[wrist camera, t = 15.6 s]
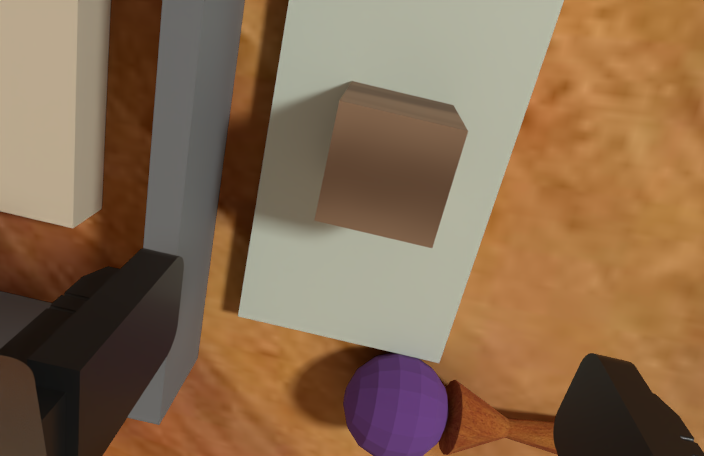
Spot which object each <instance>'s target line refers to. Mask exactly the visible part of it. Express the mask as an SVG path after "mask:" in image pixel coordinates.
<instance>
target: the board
mask: <svg viewBox="0 0 704 456" xmlns="http://www.w3.org/2000/svg"><path fill="white" fill-rule="evenodd" d="M563 2H564V0H289V3H288V9H287V15H286V21H285V28H284V34H283V40H282V46H281V52H280V59H279V65H278V71H277V77H276V83H275V90H274V96H273V102H272V108H271V114H270V121H269V127H268V133H267V139H266V145H265V152H264V158H263V164H262V170H261V176H260V183H259V189H258V195H257V201H256V207H255V213H254V220H253V226H252V232H251V238H250V244H249V251H248V257H247V263H246V269H245V275H244V282H243V288H242V294H241V300H240V306H239V313H238V316H239V317H243V318H248V319H252V320H256V321H260V322H265V323H269V324H273V325H278V326H282V327H286V328H290V329H295V330H299V331H303V332H308V333H312V334H316V335H320V336H325V337H329V338H333V339H338V340H342V341H346V342H350V343H355V344H359V345H363V346H368V347H372V348H376V349H380V350H385V351H389V352H393V353H398V354H402V355H406V356H410V357H415V358H419V359H423V360H428V361H432V362H436V363H439V362H440V359H441V356H442V354H443V351H444V348H445V345H446V342H447V339H448V336H449V333H450V330H451V327H452V324H453V322H454V319H455V316H456V313H457V310H458V307H459V304H460V301H461V298H462V295H463V292H464V290H465V287H466V284H467V281H468V278H469V275H470V272H471V269H472V266H473V263H474V260H475V258H476V255H477V252H478V249H479V246H480V243H481V240H482V237H483V234H484V231H485V228H486V226H487V223H488V220H489V217H490V214H491V211H492V208H493V205H494V202H495V199H496V196H497V194H498V191H499V188H500V185H501V182H502V179H503V176H504V173H505V170H506V167H507V165H508V162H509V159H510V156H511V153H512V150H513V147H514V144H515V141H516V138H517V135H518V133H519V130H520V127H521V124H522V121H523V118H524V115H525V112H526V109H527V106H528V103H529V101H530V98H531V95H532V92H533V89H534V86H535V83H536V80H537V77H538V74H539V71H540V69H541V66H542V63H543V60H544V57H545V54H546V51H547V48H548V45H549V42H550V39H551V37H552V34H553V31H554V28H555V25H556V22H557V19H558V16H559V13H560V10H561V7H562V5H563ZM352 81H354V82H359V83H363V84H367V85H371V86H375V87H380V88H384V89H388V90H392V91H396V92H401V93H405V94H409V95H413V96H417V97H422V98H426V99H430V100H434V101H438V102H443V103H447V104H451V105H454V107H455V109H456V111H457V112H458V114H459V116H460V118H461V119H462V121H463V123H464V125H465V126H466V128H467V130H468V134H467V137H466V140H465V143H464V147H463V150H462V153H461V156H460V160H459V163H458V166H457V169H456V173H455V176H454V179H453V182H452V186H451V189H450V192H449V196H448V199H447V202H446V205H445V209H444V212H443V215H442V218H441V222H440V225H439V228H438V231H437V235H436V238H435V241H434V244H433V248H429V247H424V246H420V245H416V244H412V243H407V242H403V241H399V240H395V239H390V238H386V237H382V236H378V235H373V234H369V233H365V232H361V231H356V230H352V229H348V228H344V227H339V226H335V225H331V224H327V223H322V222H318V221H314V219H315V215H316V210H317V205H318V200H319V195H320V191H321V186H322V181H323V176H324V171H325V167H326V162H327V157H328V152H329V148H330V143H331V138H332V133H333V128H334V124H335V119H336V114H337V109H338V105H339V100H340V99H341V97H342V96H343V94H344V93H345V91H346V89H347V88H348V86H349V85H350V83H351V82H352Z"/></svg>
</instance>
